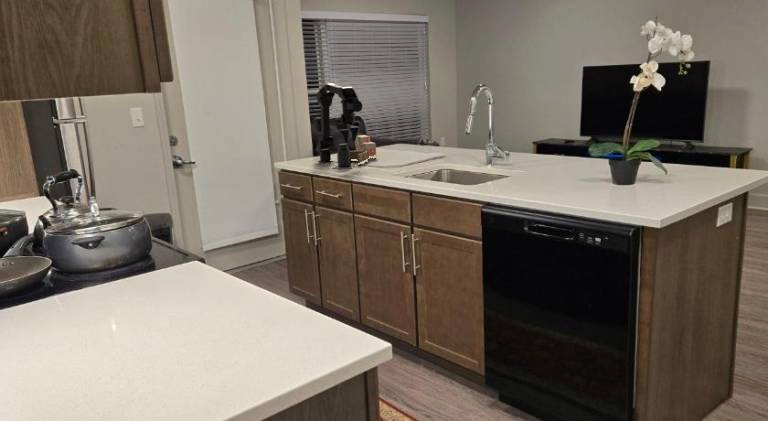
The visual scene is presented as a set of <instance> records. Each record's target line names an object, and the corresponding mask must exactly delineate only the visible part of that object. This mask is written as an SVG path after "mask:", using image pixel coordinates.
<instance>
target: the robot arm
mask: <svg viewBox="0 0 768 421" xmlns="http://www.w3.org/2000/svg"><path fill="white" fill-rule="evenodd" d="M335 95H337V96H338V97H339V98H340V99H341V100H340V102H339V103H340V104H341V107H342V109H341V110H342V113H341V115H340V117H338V118H337V117H333V118H332V121H331V119H330V118H331V117H330V114H331V112H330V111H331V110H330V107H331V105H332V104H333V98H334V97H335ZM316 99H317V100H316V102H317V104H318V105H319V107H320V130H321V132H320V134H319V136H318V140H317V141H318V142H317V144H316V146H315V150H316V152H319V160H317V162H318V163H325V164H326V163H329V162H328V161H330V160H332V158H331V154H332V153H331V151H334V144H335V142H334V136H332V134H331V127H330V126H331V124H332V125H333V126H334V127H335V128H336V130H337V131H338V132H339V133H340V134H341V135H342V137H343V140H344V142H345V143H344V144H348V143H349V140H350V134H351V138H352V141H353V142H355V140H356V137H357V136H358V135H359V132H360V130H361V127H362V122H361V121H360V120H355V116H356V113H359V112H361V111H362V109H363V103H362V101H360V100H359V97H358V95H357V93H356V91H355V89H354V87H352V86H341V85H338V84H336V83H333V82H332V83H330V82H329V83H325V84H324V85H323V87H321V88H320V89H319V90H318V91H317V94H316ZM331 122H332V123H331ZM330 123H331V124H330Z"/></svg>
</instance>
